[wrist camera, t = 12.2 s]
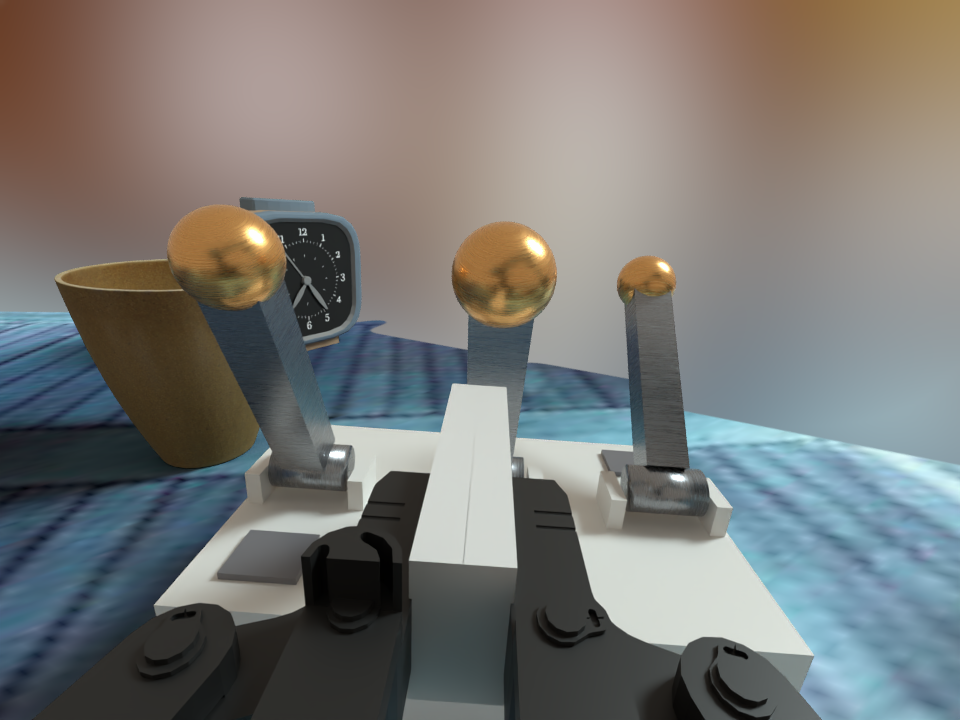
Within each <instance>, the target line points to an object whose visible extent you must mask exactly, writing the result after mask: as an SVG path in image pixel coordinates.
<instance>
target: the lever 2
mask: <svg viewBox="0 0 960 720" xmlns="http://www.w3.org/2000/svg"><path fill="white" fill-rule="evenodd" d="M675 288H676V277H675V274H674V271H673V269H672V268H671V266H670V265H669V264H668V263H667V262H666V261H664V260H662V259H661V258H658V257H655V256H642V257H638V258H636V259H633V260H632V261H630V262H629V263H627V264H626V265H625V266H624V268H623V269H622V271H621V272H620V274H619V277H618V280H617V291H618V294H619V297H620V299H621V300H622V301H623V303H624V304H625V321H626V338H627V355H628V372H629V389H630V405H631V422H632V439H633V456H634V465H629V464H626V465H625V466H624V467H623V470H622V474H621V481H620V486H621V488H622V490H623V493H624V495H625V497H626V499H627V504H626V511H627V512H640V513H655V514H669V515H683V516H697V517H702V516H704V515H705V514H706V512H707V510H708V506H709V499H710V495H709V486H708V482H707V479H706V477H705V475H704V474H703V472H702V471H700V470H699V469H688V468H690V467H689V458H688V448H687V439H686V429H685V419H684V410H683V402H682V401H683V400H682V391H681V381H680V372H679V362H678V353H677V343H676V334H675V325H674V315H673V306H672V296H673V294H674V291H675Z"/></svg>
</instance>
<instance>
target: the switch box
mask: <svg viewBox="0 0 960 720" xmlns="http://www.w3.org/2000/svg"><path fill="white" fill-rule="evenodd" d="M331 428H332V431H333V434H334V437H335V442H334V444H340V445H352V446H353V448H354V451H355V467H354V470H353V472H352V473H351V475H350V477H349V479H348V481H347V487H348V490H347V491H331V490H317V489H303V488H289V487H275V486H272V485H271V483H270V481H269V477H268V466H269V460H270V456H271V453H272V450H271V448H269V449H268V450H267V451H266V452H265V453H264V454H263V455H262V456H261V457H260V458H259V459H258V460H257V461H256V463H255V464H254V465H253V466H252V467H251V468H250V469H249V470H248V471H247V472H246V473H245V480H246V487H247V495H248V498H247V499H246V500H245V501H244V502H243V503H242V505H241V506H240V507H239V508H238V509H237V510H236V511H235V513H234V514H233V515H232V516H231V517H230V518H229V519H228V521H227V522H226V523H225V524H224V525H223V526H222V527H221V529H220V530H219V531H218V532H217V533H216V534H215V535H214V537H213V538H212V539H211V540H210V541H209V542H208V543H207V545H206V546H205V547H204V548H203V549H202V550H201V552H200V553H199V554H198V555H197V556H196V557H195V558H194V560H193V561H192V562H191V563H190V564H189V565H188V566H187V568H186V569H185V570H184V571H183V572H182V573H181V574H180V576H179V577H178V578H177V579H176V580H175V581H174V582H173V584H172V585H171V586H170V587H169V588H168V589H167V591H166V592H165V593H164V594H163V595H162V596H161V597H160V599H159V600H158V601H157V602H156V603H155V604H154V608H155V613H156V616H158V615H160V614H163V613H165V612H167V611H169V610H172V609H174V608H176V607H180V606H185V605H190V604H195V603H208V604H217V605H219V606H221V607H223V608H224V609H226V610H227V611H229V612H230V613H231V615H232V617H233V620H234V623H235V626H238V625H243V624H247V623H252V622H257V621H261V620H266V619H271V618H276V617H279V616H282V615H286V614H289V613H292V612H294V611H296V610H298V609H300V608H302V607H304V606H305V597H304V586H303V575H302V565H301V555H302V554H303V553H304V552H305V551H306V549H307V548H308V547H309V546H310V545H311V544H312V543H313V542H314V541H316V540H317V539H319V538H320V537H322V536H324V535H325V534H327V533H328V532H332V531H335V530H338V529H341V528H344V527H349V526H357V524H358V522H359V520H360V519H361V516H362V513H363V511H364V508H365V506H366V504H368V499H369V497H370V495H371V492H372V490H373V488H374V486H375V484H376V483H377V482H378V481H379V480H381V479H382V478H383V477H384V476H385V475H386V474H388V473H389V472H390V471H403V472H418V473H431V469H432V465H433V461H434V457H435V453H436V449H437V445H438V441H439V437H440V433H438V432H424V431H409V430H394V429H380V428H365V427H351V426H336V425H331ZM513 457H523V458H524V478H533V479H548V480H555V481H556V483H557V484H558V485H559V486H560V487H561V488H562V490H563V491H564V492H565V493H566V494H567V495H568V499H569V503H570V507H571V511H572V516H573V519H574V523H575V527H576V532H577V535H578V539H579V543H580V547H581V551H582V555H583V559H584V563H585V567H586V571H587V575H588V579H589V583H590V587H591V590H592V593H593V596H594V598H595V600H596V601H597V602H598V603H599V604H600V605H601V606H602V607H603V608H604V609H605V610H606V612H607V614H608V616H609V618H610V620H611V622H613V623H614V624H615V625H616V626H617V627H619V628H620V629H622V630H623V631H624V632H626V633H627V634H629V635H631V636H633V637H635V638H637V639H640V640H642V641H644V642H647V643H649V644H652V645H655V646H658V647H660V648H663V649H666V650H669V651H671V652H674V653H677V654H679V655H682V653H683V651H684V650H685V648H686V646H687V645H688V643H690V642H692V641H694V640H696V639H699V638H701V637H722V638H725V639H728V640H731V641H734V642H737V643H740V644H743V645H745V646H746V647H748V648H750V649H751V650H753V651H754V652H756V653H758V654H759V655H761V656H763V657H764V658H766V659H767V660H768V661H769V662H770V663H771V664H772V665H773V666H774V667H775V668H776V669H778V670H779V671H780V672H781V673H782V674H783V675H784V676H785V677H786V678H787V679H788V680H789V682H790V683H791V684H792V685H793V686H794V687H795V689H796V690H797V691H798V692H800V690H801V687H802V685H803V682H804V680H805V677H806V675H807V672H808V670H809V667H810V665H811V663H812V660H813V658H814V655H813V653H812V652H811V650H810V649H809V648H808V646H807V645H806V643H805V642H804V640H803V639H802V638H801V636H800V635H799V633H798V632H797V631H796V629H795V628H794V626H793V625H792V624H791V622H790V621H789V619H788V618H787V617H786V615H785V614H784V612H783V611H782V610H781V608H780V607H779V605H778V604H777V603H776V601H775V600H774V598H773V597H772V595H771V594H770V593H769V591H768V590H767V588H766V587H765V586H764V584H763V583H762V581H761V580H760V579H759V577H758V576H757V574H756V573H755V572H754V570H753V569H752V567H751V566H750V565H749V563H748V562H747V560H746V559H745V557H744V556H743V555H742V553H741V552H740V550H739V549H738V548H737V546H736V545H735V543H734V542H733V541H732V539H731V538H730V536H729V535H728V534H727V532H726V531H727V528H728V524H729V521H730V517H731V514H732V510H733V508H732V506H731V505H730V504H729V503H728V501H727V500H726V499H725V498H724V496H723V495H722V494H721V492H720V491H719V490H718V489H717V487H716V486H715V485H714V484H713V482H712V481H711V480H710V479H709V478H706V479H707V482H708V486H709V495H710V499H709V506H708V510H707V512H706V514H705V515H704V516H702V517H697V516H683V515H669V514H655V513H640V512H627V511H626V504H627V499H626V497H625V495H624V493H623V490H622V488H621V486H620V481H621V474H622V470H623V467H624V466H625V465H626V464H629V465H634V456H633V446H628V445H613V444H599V443H584V442H570V441H555V440H540V439H526V438H516V441H515V448H514V454H513ZM402 720H504V703H503V706H497V705H483V704H470V703H456V702H443V701H429V700H416V699H408V690H407V696H406V701H405V707H404V712H403V718H402Z"/></svg>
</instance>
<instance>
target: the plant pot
mask: <svg viewBox="0 0 960 720" xmlns="http://www.w3.org/2000/svg"><path fill="white" fill-rule="evenodd" d="M54 280H55V282H56V284H57V286H58V289H59V291H60V293H61V295H62V298H63V300H64V302H65V304H66V306H67V308H68V311H69V313H70V315H71V317H72V319H73V321H74V323H75V325H76V328H77V330H78V332H79V334H80V336H81V338H82V340H83V342H84V344H85V346H86V348H87V350H88V352H89V354H90V355H91V357H92V359H93V361H94V363H95V364H96V366H97V368H98V370H99V371H100V373H101V375H102V377H103V378H104V380H105V382H106V383H107V385H108V387H109V388H110V390H111V391H112V393H113V395H114V396H115V398H116V399H117V401H118V402H119V404H120V405H121V407H122V408H123V409H124V411H125V412H126V414H127V415H128V417H129V418H130V420H131V421H132V422H133V424H134V425H135V426H136V428H137V429H138V430H139V432H140V433H141V434H142V435H143V437H144V438H145V439H146V441H147V442H148V443H149V444H150V445H151V447H152V448H153V449H154V450H155V451H156V453H157V454H158V455H159V456H160V457H161V458H162V460H163V461H164V462H166V463H167V464H169V465H172V466H175V467H180V468H199V467H207V466H212V465H217V464H220V463H223V462H226V461H229V460H232V459H234V458H236V457H238V456H240V455H242V454H243V453H245V452H246V451H248V450H249V449H250V448H251V447H252V445H253V444H254V442H255V440H256V437H257V434H258V431H259V427H260V426H259V424H258V422H257V420H256V418H255V416H254V414H253V412H252V410H251V408H250V406H249V404H248V402H247V400H246V398H245V397H244V395H243V393H242V391H241V389H240V387H239V385H238V383H237V381H236V379H235V377H234V375H233V373H232V371H231V369H230V367H229V365H228V363H227V361H226V359H225V357H224V355H223V353H222V351H221V349H220V347H219V345H218V343H217V341H216V339H215V337H214V335H213V333H212V331H211V329H210V327H209V325H208V323H207V321H206V319H205V317H204V315H203V313H202V311H201V309H200V307H199V305H198V303H197V301H196V300H195V299H194V298H192V297H191V296H189V295H188V294H187V293H186V292H185V291H184V290H183V289H182V288H181V286H180V285H179V284H178V283H177V281H176V280H175V278H174V276H173V274H172V272H171V270H170V267H169V263H168V259H160V260H141V261H127V262H116V263H107V264H100V265H92V266H87V267H81V268H76V269H72V270H68V271H65V272H62V273H60V274H58V275H56V276H55V278H54Z"/></svg>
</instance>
